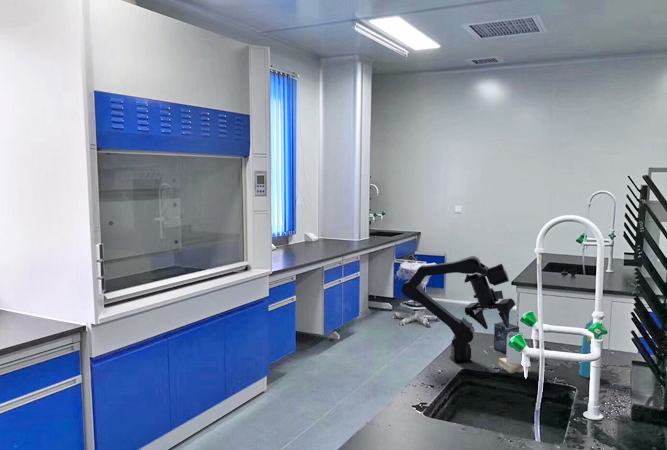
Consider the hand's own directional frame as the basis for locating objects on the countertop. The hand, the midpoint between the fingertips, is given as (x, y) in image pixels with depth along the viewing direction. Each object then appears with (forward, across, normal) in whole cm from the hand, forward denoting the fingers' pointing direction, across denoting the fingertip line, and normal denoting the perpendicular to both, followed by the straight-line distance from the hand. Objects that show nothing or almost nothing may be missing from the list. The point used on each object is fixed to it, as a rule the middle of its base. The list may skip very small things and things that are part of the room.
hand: (497, 328), depth 186 cm
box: (+15, +8, -11) cm, 20 cm away
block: (+14, -3, +4) cm, 15 cm away
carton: (+12, -4, +3) cm, 13 cm away
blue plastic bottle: (+23, -23, -7) cm, 33 cm away
